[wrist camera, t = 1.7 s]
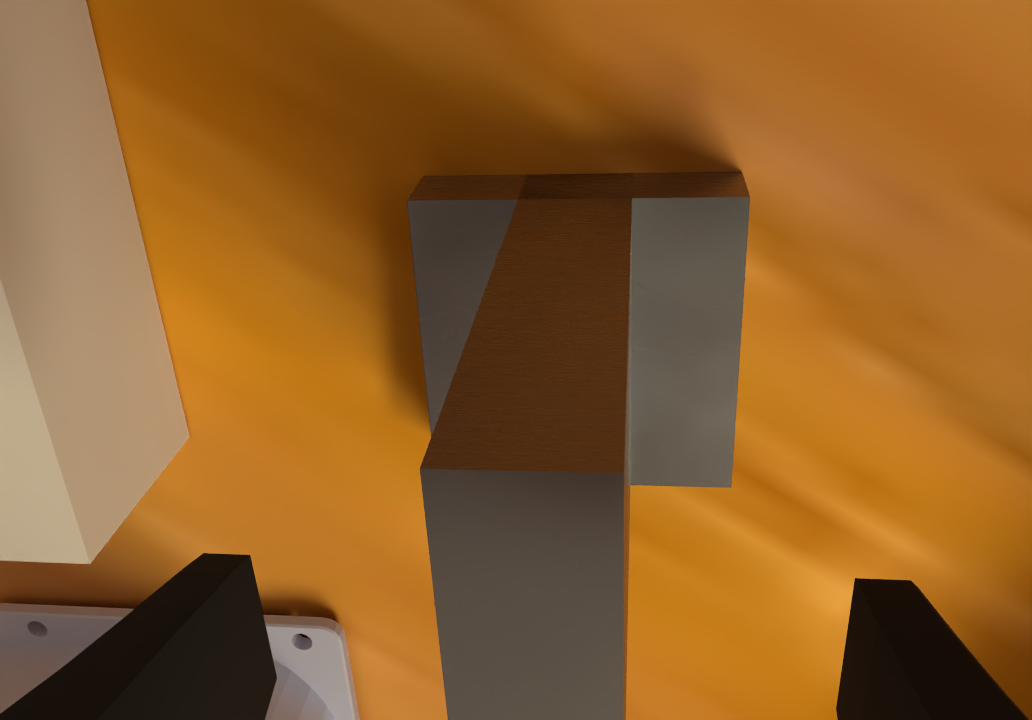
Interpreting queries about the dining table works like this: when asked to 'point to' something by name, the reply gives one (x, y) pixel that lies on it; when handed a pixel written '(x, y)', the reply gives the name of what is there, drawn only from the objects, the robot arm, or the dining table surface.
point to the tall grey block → (565, 411)
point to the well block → (72, 301)
